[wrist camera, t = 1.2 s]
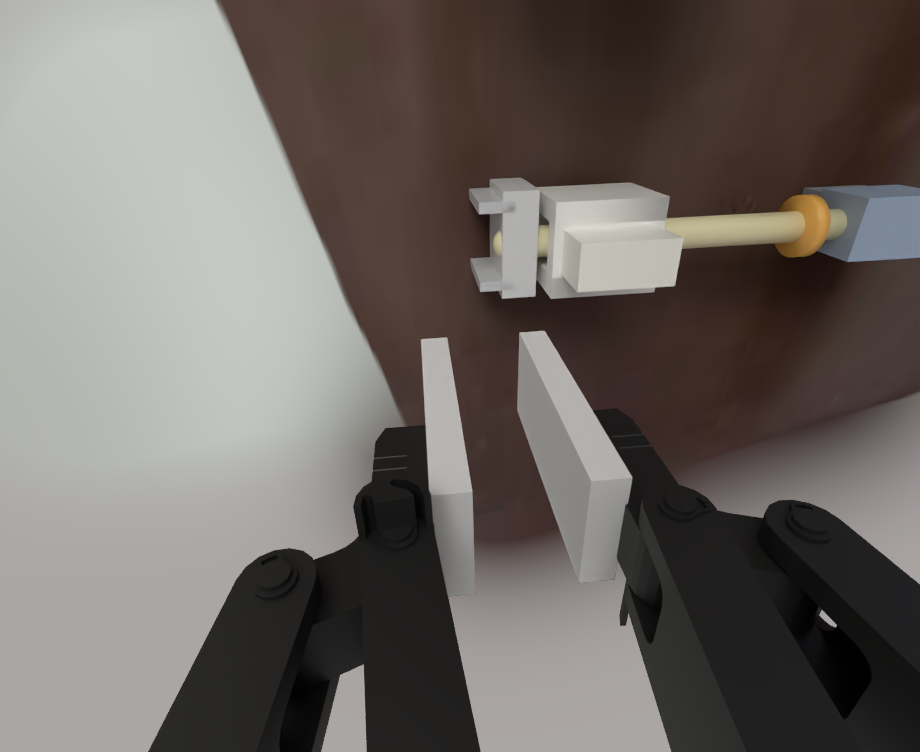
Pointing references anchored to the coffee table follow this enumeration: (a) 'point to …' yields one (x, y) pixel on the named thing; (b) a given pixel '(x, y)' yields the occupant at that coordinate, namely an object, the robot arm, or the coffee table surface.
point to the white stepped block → (606, 240)
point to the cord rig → (713, 229)
